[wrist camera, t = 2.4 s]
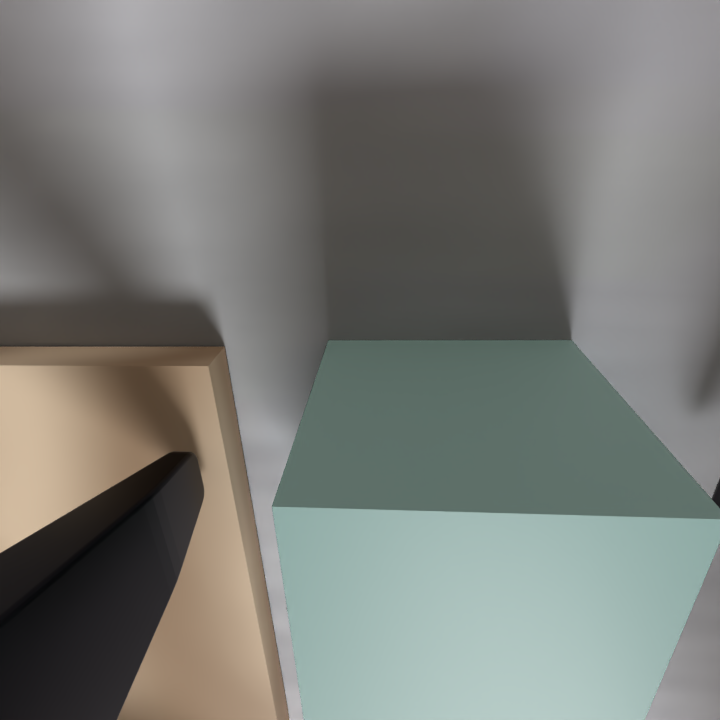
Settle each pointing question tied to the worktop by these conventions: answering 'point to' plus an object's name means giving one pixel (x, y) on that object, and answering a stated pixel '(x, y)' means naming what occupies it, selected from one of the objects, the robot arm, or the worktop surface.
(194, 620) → the beech board
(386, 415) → the cube
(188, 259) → the worktop surface
